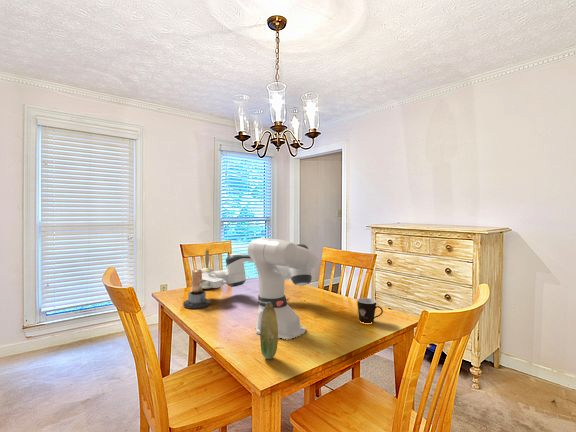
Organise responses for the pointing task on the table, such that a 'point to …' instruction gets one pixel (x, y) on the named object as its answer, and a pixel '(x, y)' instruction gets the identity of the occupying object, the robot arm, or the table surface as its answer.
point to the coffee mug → (367, 309)
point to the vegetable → (269, 331)
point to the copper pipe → (196, 282)
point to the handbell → (206, 269)
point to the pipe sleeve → (196, 301)
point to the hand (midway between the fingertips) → (195, 283)
